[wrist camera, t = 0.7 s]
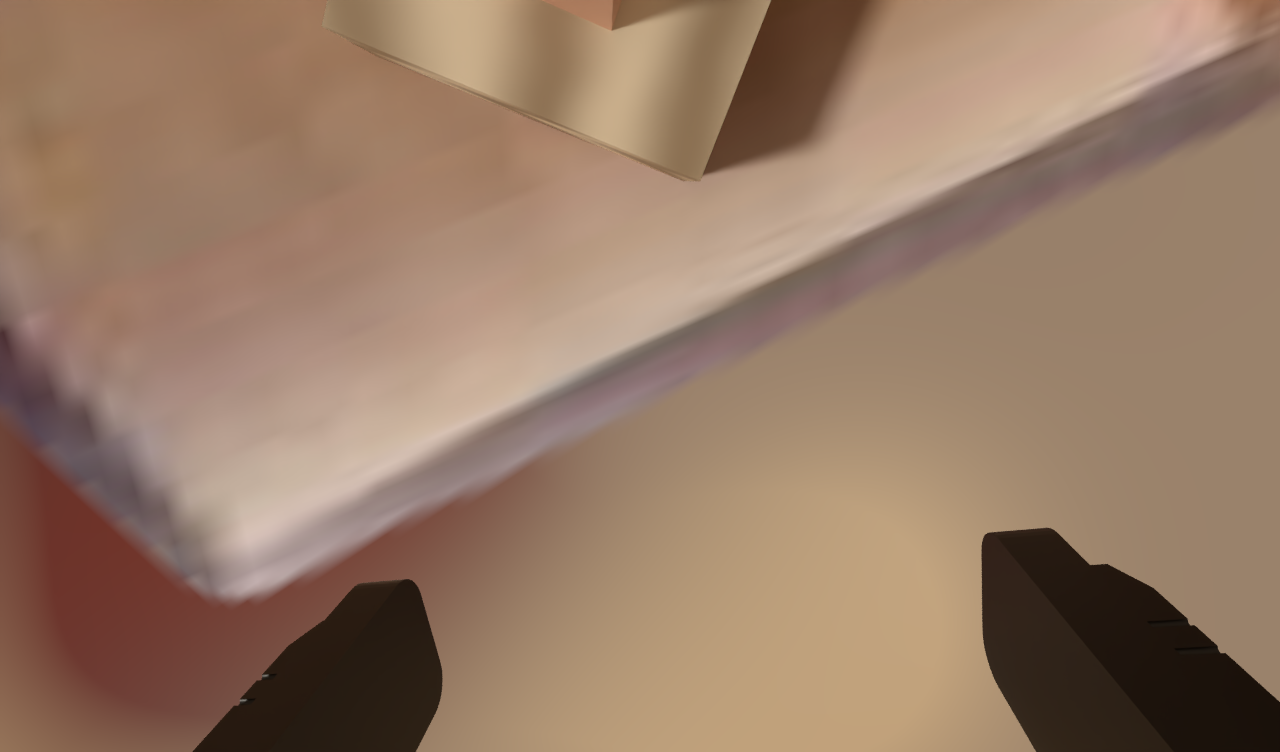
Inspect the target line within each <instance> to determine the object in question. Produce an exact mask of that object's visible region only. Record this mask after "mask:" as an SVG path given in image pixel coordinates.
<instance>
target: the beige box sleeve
mask: <svg viewBox="0 0 1280 752" xmlns="http://www.w3.org/2000/svg"><path fill="white" fill-rule="evenodd" d="M770 2H771V0H622V1H621V4H620V7H619V10H618V13H617V16H616V19H615V22H614V25H613V28H612V31H611V30H608V29H606V28H604V27H601V26H599V25H597V24H595V23H592V22H590V21H588V20H585V19H583V18H581V17H579V16H576V15H574V14H572V13H569V12H567V11H565V10H563V9H560V8H558V7H556V6H553V5H551V4H549V3H547V2H544V1H542V0H327V4H326V9H325V13H324V18H323V22H322V27H324V28H325V29H327V30H329V31H331V32H333V33H335V34H336V35H338V36H340V37H342V38H344V39H346V40H348V41H349V42H351V43H353V44H355V45H357V46H359V47H360V48H362V49H364V50H366V51H368V52H370V53H372V54H373V55H375V56H378V57H380V58H383V59H385V60H388V61H390V62H393V63H395V64H398V65H400V66H402V67H405V68H407V69H410V70H412V71H415V72H417V73H420V74H422V75H425V76H427V77H430V78H432V79H434V80H437V81H439V82H442V83H444V84H447V85H449V86H452V87H454V88H457V89H459V90H461V91H464V92H466V93H469V94H471V95H474V96H476V97H479V98H481V99H484V100H486V101H488V102H491V103H493V104H496V105H498V106H501V107H503V108H506V109H508V110H511V111H513V112H515V113H518V114H520V115H523V116H525V117H528V118H530V119H533V120H535V121H538V122H540V123H542V124H545V125H547V126H550V127H552V128H555V129H557V130H560V131H562V132H565V133H567V134H569V135H572V136H574V137H577V138H579V139H582V140H584V141H587V142H589V143H592V144H594V145H596V146H599V147H601V148H604V149H606V150H609V151H611V152H614V153H616V154H619V155H621V156H623V157H626V158H628V159H631V160H633V161H636V162H638V163H641V164H643V165H646V166H648V167H650V168H653V169H655V170H658V171H660V172H663V173H665V174H668V175H670V176H673V177H675V178H678V179H680V180H682V181H700V180H701V178H702V175H703V172H704V170H705V167H706V165H707V162H708V160H709V157H710V155H711V152H712V149H713V147H714V144H715V142H716V139H717V137H718V134H719V132H720V129H721V127H722V124H723V121H724V119H725V116H726V114H727V111H728V109H729V106H730V104H731V101H732V98H733V96H734V93H735V91H736V88H737V86H738V83H739V81H740V78H741V76H742V73H743V70H744V68H745V65H746V63H747V60H748V58H749V55H750V53H751V50H752V48H753V45H754V42H755V40H756V37H757V35H758V32H759V30H760V27H761V25H762V22H763V19H764V17H765V14H766V12H767V9H768V7H769V4H770Z"/></svg>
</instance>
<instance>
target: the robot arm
mask: <svg viewBox="0 0 1280 752" xmlns="http://www.w3.org/2000/svg"><path fill="white" fill-rule="evenodd" d="M982 619H983V620H982V622H983V640H984V646H985V651H986V656H987V659H988V663H989V666H990V669H991V671H992V674H993V677H994V679H995V681H996V683H997V685H998V687H999V688H1000V690H1001V692H1002V694H1003V695H1004V697H1005V699H1006V701H1007V702H1008V704H1009V706H1010V707H1011V709H1012V711H1013V713H1014V714H1015V716H1016V718H1017V719H1018V721H1019V723H1020V724H1021V726H1022V728H1023V730H1024V732H1025V733H1026V735H1027V737H1028V738H1029V740H1030V742H1031V744H1032V745H1033V747H1034V749H1035V750H1036V752H1280V702H1279V701H1278V700H1277V699H1276V698H1275V697H1273V696H1272V695H1271V694H1270V693H1269V692H1268V691H1267V690H1266V689H1264V687H1262V686H1261V685H1260V684H1259V683H1258V682H1257V681H1256V680H1255V679H1254V678H1252V677H1251V676H1250V675H1249V674H1248V673H1247V672H1246V671H1244V669H1242V668H1241V667H1240V666H1239V665H1238V664H1237V663H1236V662H1235V661H1234V660H1233V659H1231V658H1230V657H1229V656H1228V655H1227V654H1226V653H1220V652H1219V650H1218V646H1217V645H1216V644H1215V643H1214V642H1212V641H1211V640H1210V639H1209V638H1208V637H1207V636H1206V635H1205V634H1204V633H1203V632H1201V631H1200V630H1199V629H1198V628H1197V627H1196V626H1194V625H1192V626H1190V625H1189V623H1188V620H1187V618H1186V617H1185V616H1184V615H1183V614H1182V613H1180V612H1179V611H1178V610H1177V609H1176V608H1175V607H1174V606H1173V605H1171V604H1170V603H1169V602H1168V601H1167V600H1166V599H1165V598H1164V597H1163V596H1162V595H1161V594H1159V593H1158V592H1157V591H1156V590H1155V589H1154V588H1152V587H1150V586H1149V585H1147V584H1145V583H1143V582H1141V581H1139V580H1137V579H1135V578H1133V577H1131V576H1129V575H1127V574H1125V573H1123V572H1121V571H1120V570H1117V569H1116V568H1114V567H1112V566H1110V565H1108V564H1101V565H1089V564H1088V563H1087V562H1086V561H1085V560H1084V559H1083V558H1082V557H1081V556H1080V555H1079V554H1078V553H1077V552H1076V551H1075V550H1074V549H1073V548H1072V547H1071V546H1070V545H1069V544H1068V543H1067V542H1066V541H1065V540H1064V539H1063V538H1062V537H1061V536H1060V535H1059V534H1058V533H1057V532H1056V531H1055V530H1053V529H1051V528H1040V529H1028V530H1016V531H1003V532H992V533H987V534H986V535H985V536H984V538H983V542H982ZM441 692H442V668H441V663H440V659H439V656H438V653H437V649H436V646H435V642H434V639H433V635H432V632H431V628H430V625H429V621H428V618H427V614H426V611H425V607H424V604H423V600H422V597H421V593H420V591H419V589H418V587H417V585H416V584H415V583H414V582H413V581H412V580H409V579H405V580H392V581H380V582H368V583H360V584H358V585H357V586H355V587H354V588H353V589H352V590H351V591H350V592H349V593H348V594H347V595H346V596H345V598H344V599H343V600H342V601H341V602H340V603H339V605H338V606H337V607H336V608H335V609H334V610H333V611H332V612H331V614H330V615H329V616H328V617H327V618H326V619H325V620H324V621H322V622H321V623H319V624H318V625H316V626H315V627H314V628H312V629H311V630H310V631H308V632H307V633H305V634H304V635H303V636H301V637H300V638H299V639H297V640H296V641H294V642H293V643H292V644H290V645H289V646H288V647H287V648H286V649H285V650H284V651H283V652H282V653H281V654H280V656H279V657H278V658H277V659H276V660H275V661H274V662H273V663H272V664H271V666H270V667H269V668H268V669H267V670H266V671H265V672H264V673H263V674H262V680H260V681H256V682H255V683H254V684H253V685H252V687H251V688H250V689H249V690H248V691H247V692H246V693H245V695H243V696H242V698H241V699H240V704H239V706H233V708H232V709H231V710H230V711H229V712H228V713H227V714H226V715H225V716H224V717H223V719H222V720H221V721H220V722H219V723H218V724H217V725H216V726H215V728H213V730H212V731H211V732H210V733H209V734H208V735H207V736H206V737H205V738H204V740H203V741H202V742H201V743H200V744H199V745H198V746H197V747H196V748H195V750H194V751H193V752H416V750H417V748H418V746H419V744H420V742H421V740H422V738H423V736H424V735H425V733H426V731H427V728H428V727H429V725H430V723H431V721H432V719H433V717H434V715H435V713H436V711H437V708H438V705H439V702H440V697H441Z"/></svg>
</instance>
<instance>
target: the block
mask: <svg viewBox="0 0 1280 752" xmlns="http://www.w3.org/2000/svg"><path fill="white" fill-rule="evenodd" d="M542 1H544V2H547V3H549V4H551V5H553V6H556V7H558V8H560V9H563V10H565V11H567V12H569V13H572V14H574V15H576V16H579V17H581V18H583V19H585V20H588V21H590V22H592V23H595V24H597V25H599V26H601V27H604V28H606V29H608V30H611V31H612V28H613V25H614V22H615V19H616V16H617V13H618V10H619V7H620V4H621V1H622V0H542Z"/></svg>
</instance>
